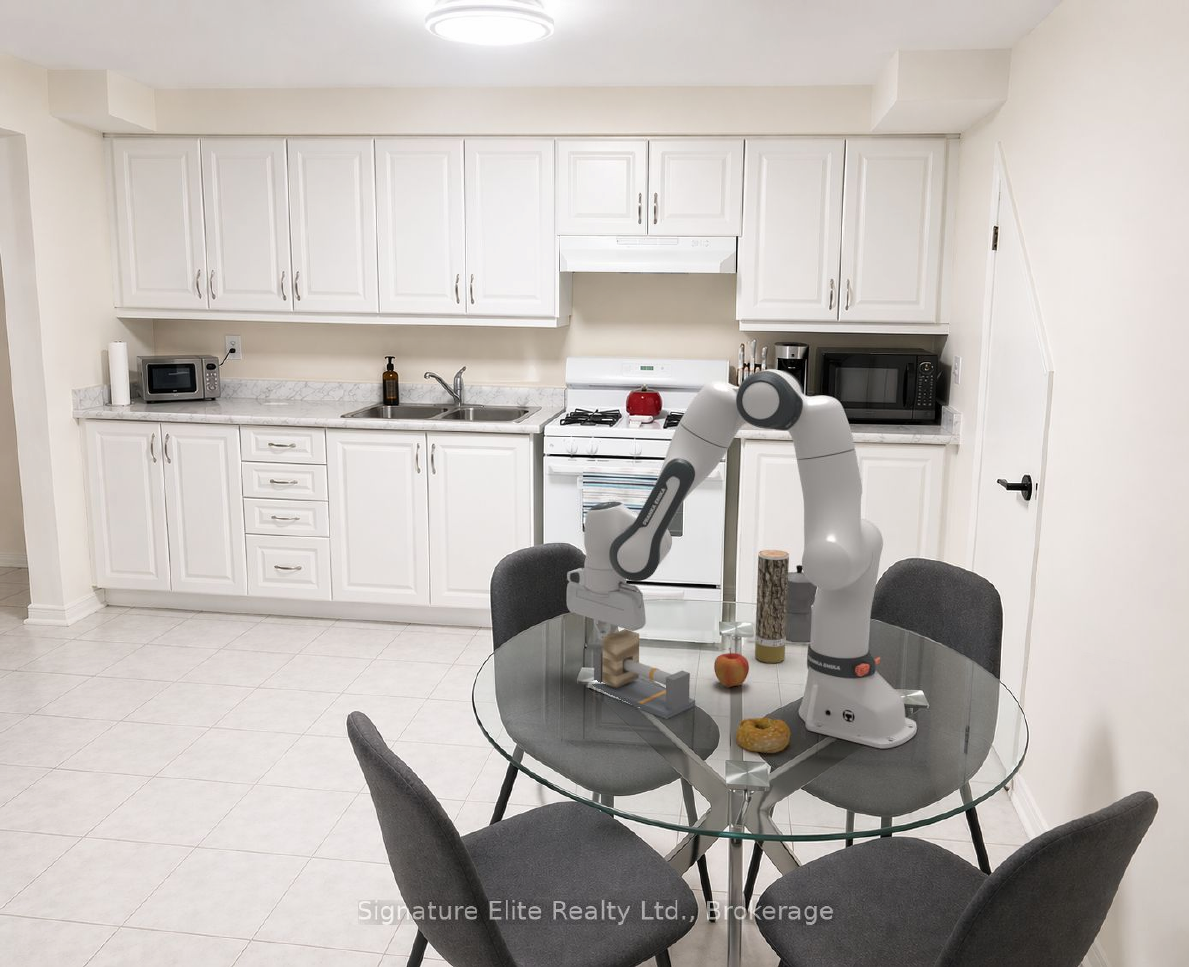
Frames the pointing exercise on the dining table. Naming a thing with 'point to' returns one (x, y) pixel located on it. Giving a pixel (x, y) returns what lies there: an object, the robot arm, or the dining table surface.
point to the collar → (619, 657)
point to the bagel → (763, 735)
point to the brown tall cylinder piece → (771, 605)
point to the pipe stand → (649, 688)
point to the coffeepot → (799, 606)
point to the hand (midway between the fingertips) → (605, 640)
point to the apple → (731, 669)
